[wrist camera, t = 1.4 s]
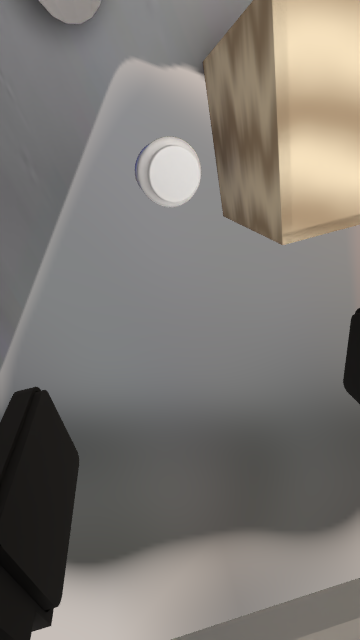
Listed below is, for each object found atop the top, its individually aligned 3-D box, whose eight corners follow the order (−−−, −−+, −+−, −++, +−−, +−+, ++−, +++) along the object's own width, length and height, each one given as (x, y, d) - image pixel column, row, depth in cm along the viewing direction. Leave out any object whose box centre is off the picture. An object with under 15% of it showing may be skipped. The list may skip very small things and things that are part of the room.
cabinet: (202, 61, 28) (271, -22, 15) (363, 25, 29) (549, -80, 16) (223, 216, 35) (282, 245, 22) (352, 182, 36) (478, 192, 23)
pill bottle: (191, 150, 31) (219, 144, 22) (179, 204, 33) (200, 218, 25) (139, 134, 29) (147, 122, 21) (129, 192, 32) (134, 203, 23)
